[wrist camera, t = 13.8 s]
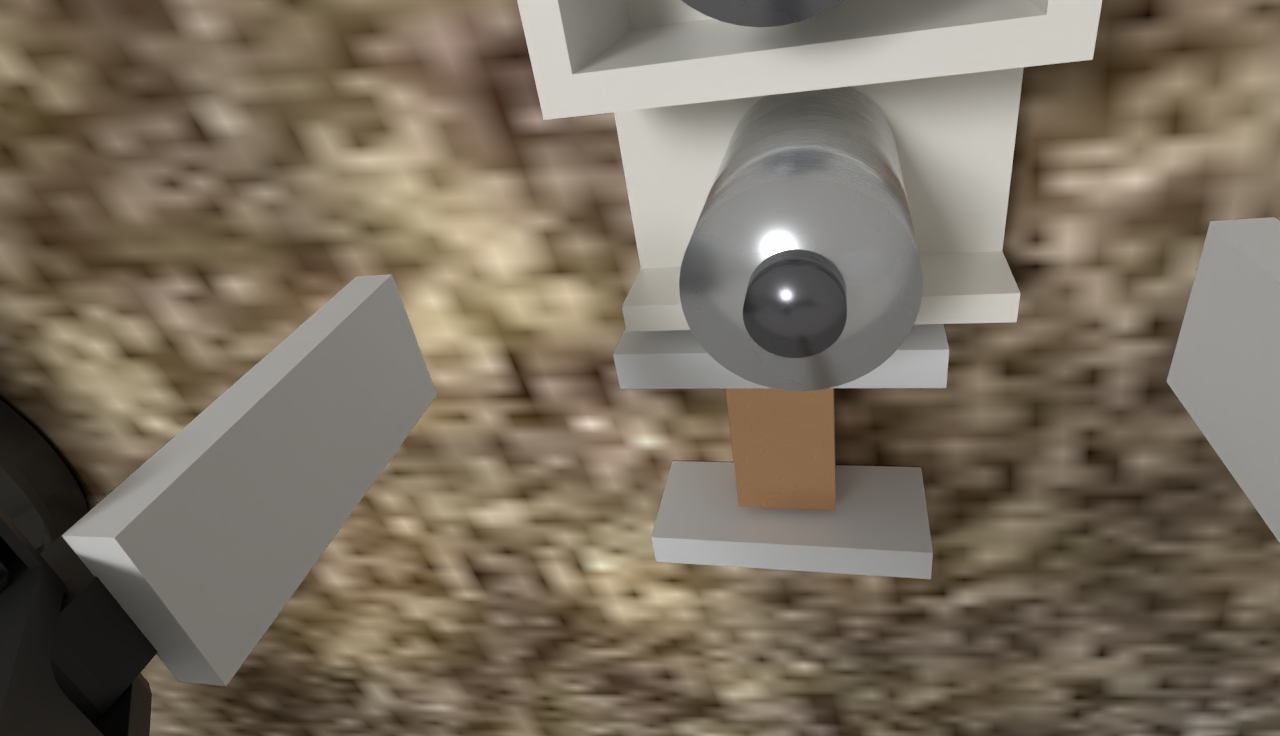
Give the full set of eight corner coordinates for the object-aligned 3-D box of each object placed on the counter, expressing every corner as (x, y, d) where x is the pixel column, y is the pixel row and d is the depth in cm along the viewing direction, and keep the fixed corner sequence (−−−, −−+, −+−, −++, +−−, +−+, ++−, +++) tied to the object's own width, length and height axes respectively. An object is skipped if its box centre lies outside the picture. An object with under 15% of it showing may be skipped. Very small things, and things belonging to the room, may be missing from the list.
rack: (654, 270, 24) (602, 383, 18) (564, -295, 16) (433, -374, 11) (990, 254, 21) (1040, 381, 16) (1062, -432, 14) (1203, -621, 8)
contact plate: (746, 459, 27) (738, 506, 25) (733, 333, 24) (723, 375, 22) (835, 461, 26) (835, 510, 24) (833, 331, 23) (832, 374, 21)
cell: (730, 245, 21) (682, 410, 15) (721, 86, 19) (659, 201, 12) (891, 241, 20) (916, 419, 13) (902, 72, 18) (939, 189, 11)
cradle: (676, 484, 29) (656, 561, 26) (643, 290, 24) (613, 354, 21) (919, 492, 26) (930, 579, 23) (932, 278, 22) (949, 349, 19)
